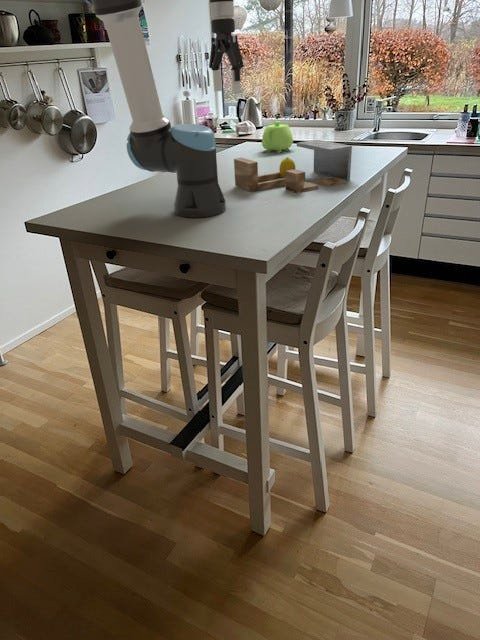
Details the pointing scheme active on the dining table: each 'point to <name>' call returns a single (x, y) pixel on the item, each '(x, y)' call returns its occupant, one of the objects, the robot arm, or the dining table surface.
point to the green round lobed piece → (277, 137)
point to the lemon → (286, 166)
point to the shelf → (330, 158)
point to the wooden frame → (254, 176)
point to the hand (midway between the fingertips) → (227, 91)
